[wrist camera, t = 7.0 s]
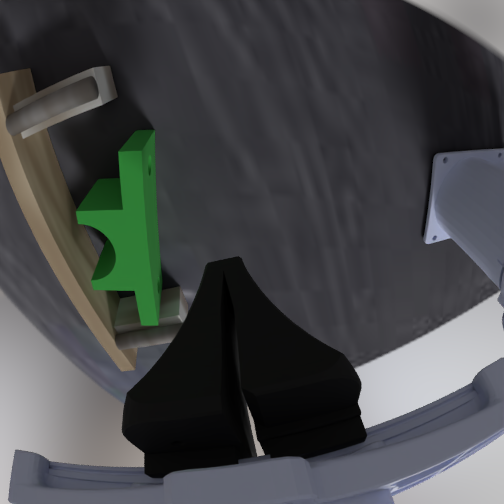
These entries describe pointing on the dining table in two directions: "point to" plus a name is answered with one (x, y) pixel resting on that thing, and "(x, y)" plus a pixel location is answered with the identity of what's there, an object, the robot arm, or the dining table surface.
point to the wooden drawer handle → (72, 208)
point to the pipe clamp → (129, 227)
